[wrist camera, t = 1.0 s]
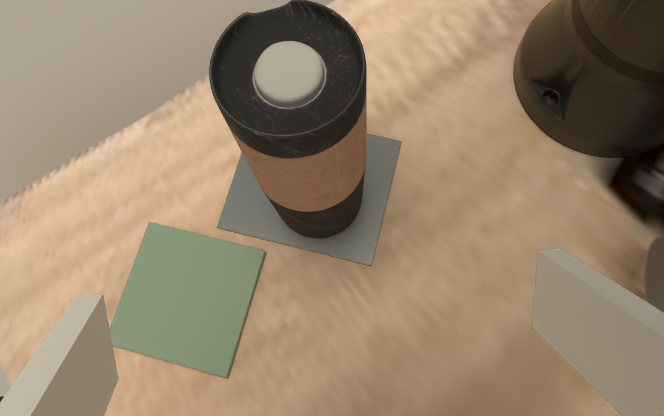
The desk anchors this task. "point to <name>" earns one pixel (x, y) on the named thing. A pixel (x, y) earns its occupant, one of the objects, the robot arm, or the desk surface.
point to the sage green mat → (187, 299)
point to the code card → (351, 244)
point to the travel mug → (297, 110)
